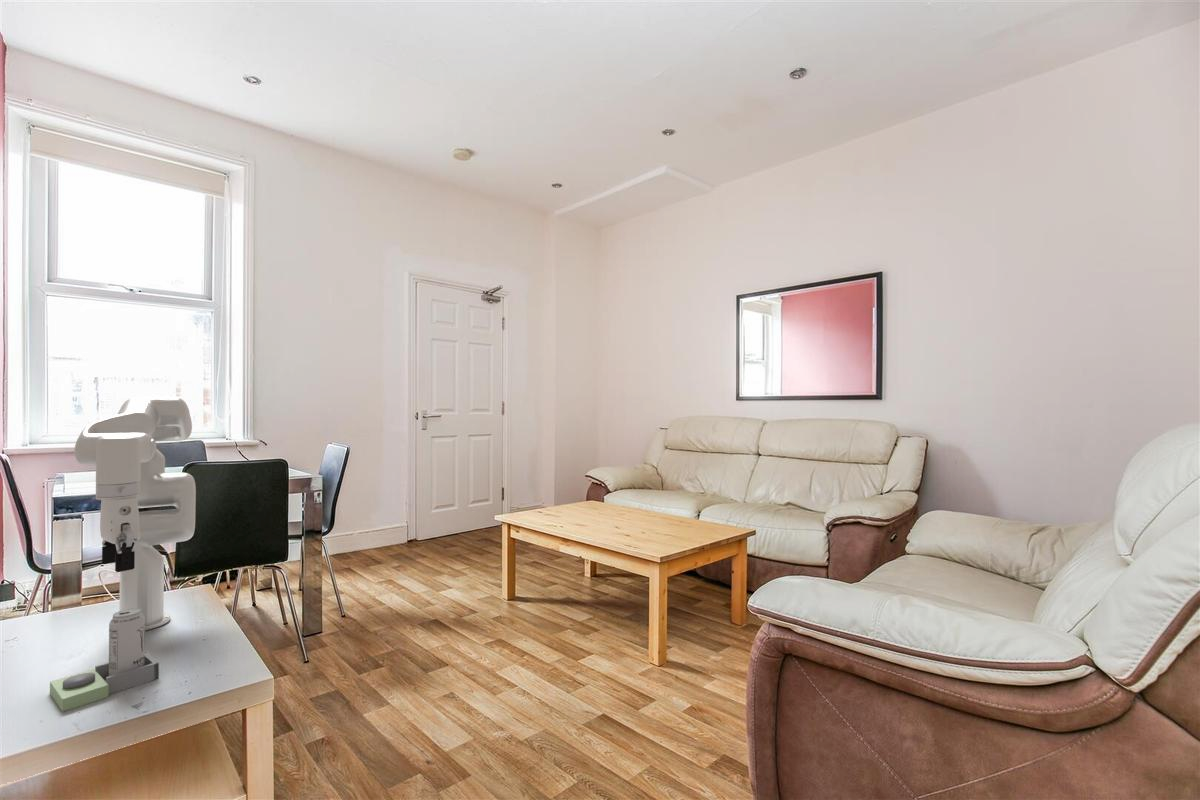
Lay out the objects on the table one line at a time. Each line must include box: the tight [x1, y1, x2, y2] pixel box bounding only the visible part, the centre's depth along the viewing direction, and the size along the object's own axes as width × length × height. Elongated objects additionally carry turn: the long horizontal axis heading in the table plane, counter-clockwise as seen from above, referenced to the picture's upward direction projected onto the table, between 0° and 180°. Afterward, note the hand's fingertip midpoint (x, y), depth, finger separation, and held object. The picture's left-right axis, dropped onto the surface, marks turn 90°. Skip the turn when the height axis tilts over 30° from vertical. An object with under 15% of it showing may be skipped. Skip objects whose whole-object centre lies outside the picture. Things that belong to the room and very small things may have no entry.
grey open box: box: [49, 651, 160, 713], centre depth 119 cm, size 12×16×4 cm
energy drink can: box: [108, 609, 146, 676], centre depth 122 cm, size 6×6×15 cm
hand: (118, 566), depth 123 cm, fingers open, 9 cm apart
